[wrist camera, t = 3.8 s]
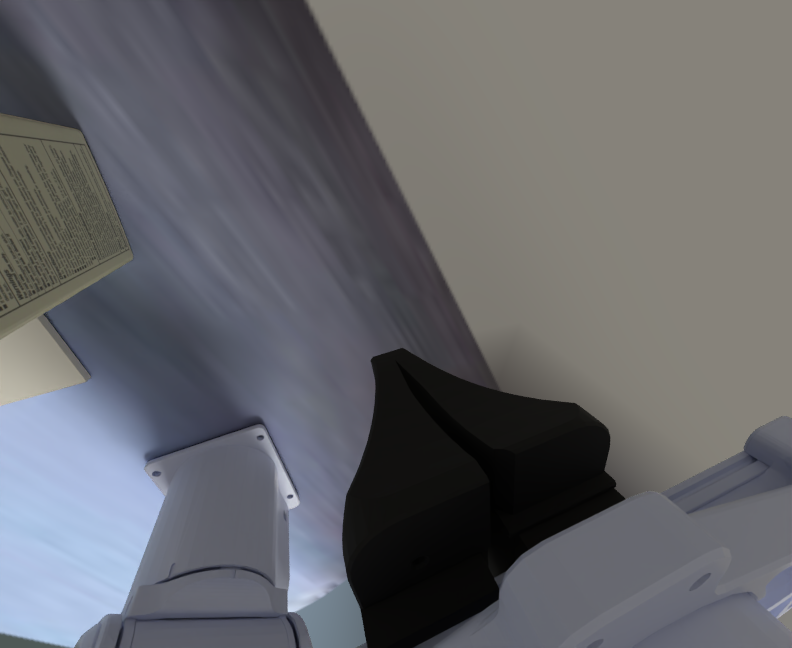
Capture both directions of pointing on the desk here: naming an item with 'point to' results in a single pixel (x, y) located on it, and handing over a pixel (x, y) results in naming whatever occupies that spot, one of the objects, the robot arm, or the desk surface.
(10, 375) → the mat
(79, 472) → the desk surface
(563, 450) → the robot arm
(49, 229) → the skincare box
